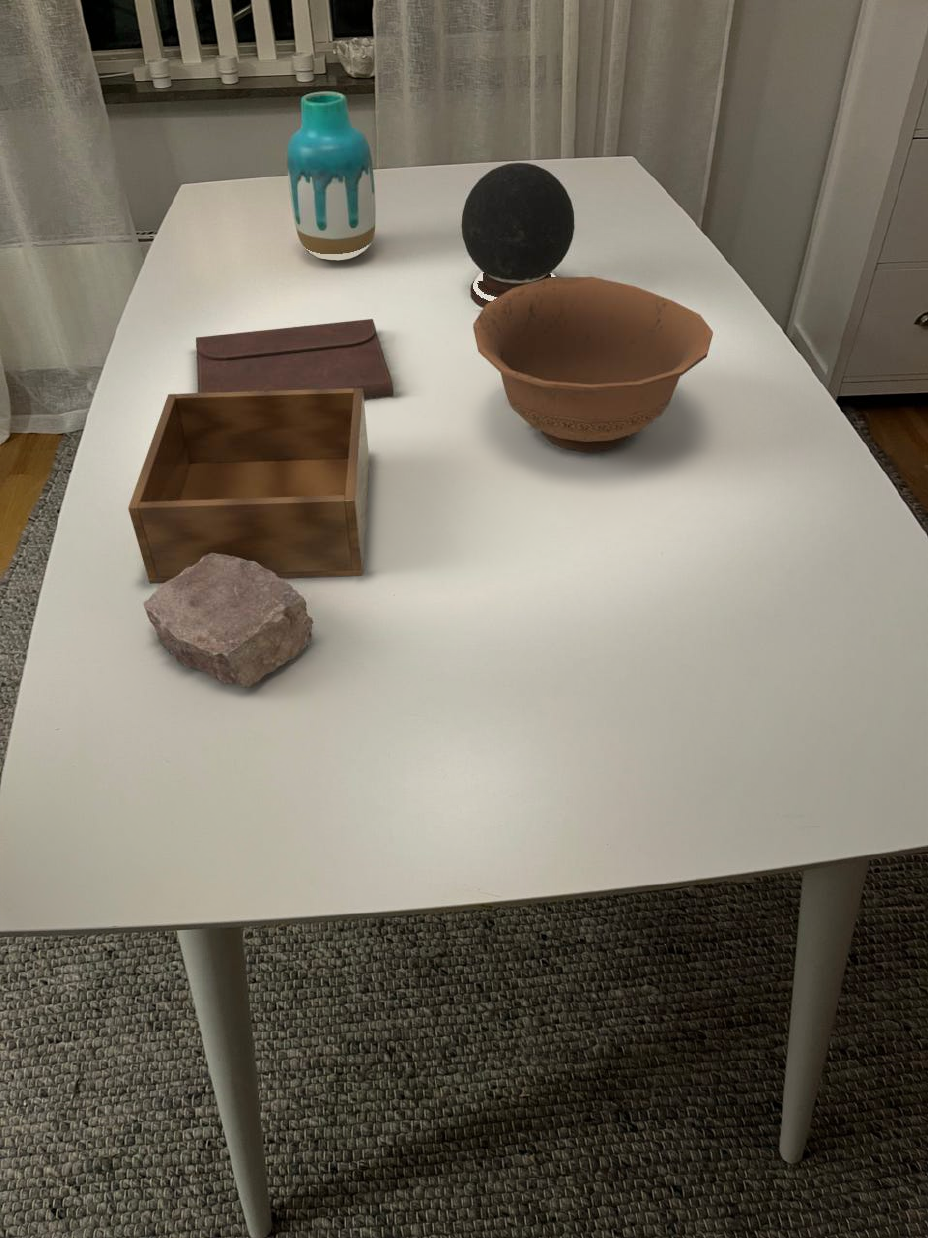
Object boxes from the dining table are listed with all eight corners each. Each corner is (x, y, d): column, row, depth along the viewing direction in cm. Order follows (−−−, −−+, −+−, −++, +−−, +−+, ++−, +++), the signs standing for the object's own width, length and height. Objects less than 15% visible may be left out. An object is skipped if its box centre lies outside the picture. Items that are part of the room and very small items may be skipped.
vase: (291, 246, 136) (271, 89, 123) (368, 235, 138) (357, 81, 125) (306, 277, 128) (286, 114, 115) (387, 266, 131) (377, 104, 118)
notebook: (393, 397, 106) (392, 379, 104) (201, 419, 103) (197, 402, 102) (373, 332, 117) (372, 316, 115) (199, 351, 114) (195, 334, 113)
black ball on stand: (451, 277, 128) (448, 152, 118) (552, 266, 130) (558, 142, 120) (476, 323, 118) (476, 191, 108) (584, 310, 120) (594, 179, 110)
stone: (135, 635, 79) (121, 588, 76) (226, 579, 84) (216, 533, 81) (234, 706, 73) (223, 658, 70) (325, 641, 78) (319, 594, 75)
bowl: (640, 360, 111) (651, 262, 104) (737, 467, 95) (758, 361, 88) (447, 392, 106) (444, 292, 99) (515, 510, 91) (518, 401, 83)
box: (149, 583, 84) (127, 508, 79) (184, 464, 97) (168, 393, 92) (362, 575, 84) (354, 500, 79) (369, 458, 97) (362, 387, 92)
